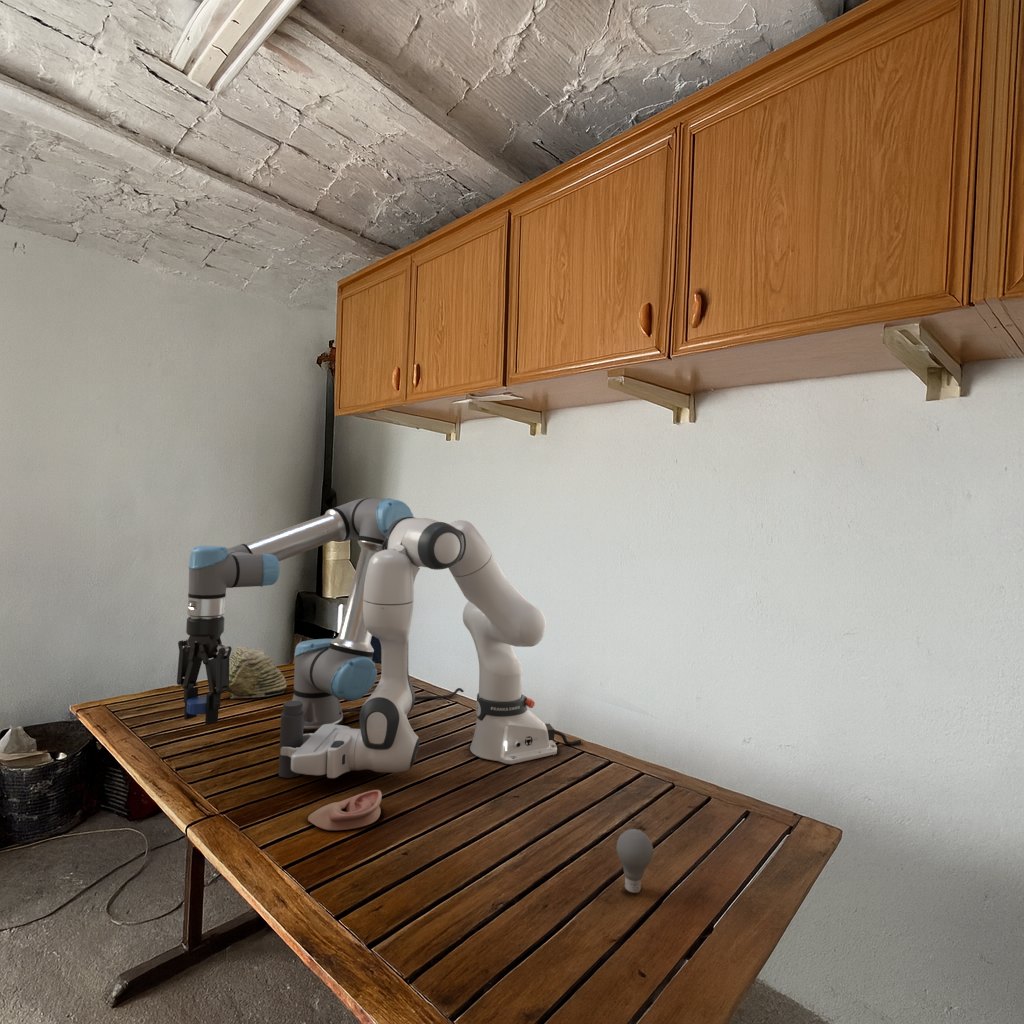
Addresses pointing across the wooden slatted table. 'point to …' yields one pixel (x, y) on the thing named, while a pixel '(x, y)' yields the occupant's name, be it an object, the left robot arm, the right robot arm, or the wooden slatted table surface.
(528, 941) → the wooden slatted table surface
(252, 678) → the fossil
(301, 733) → the grey bottle
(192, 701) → the lid
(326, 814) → the anatomical model
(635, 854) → the light bulb
